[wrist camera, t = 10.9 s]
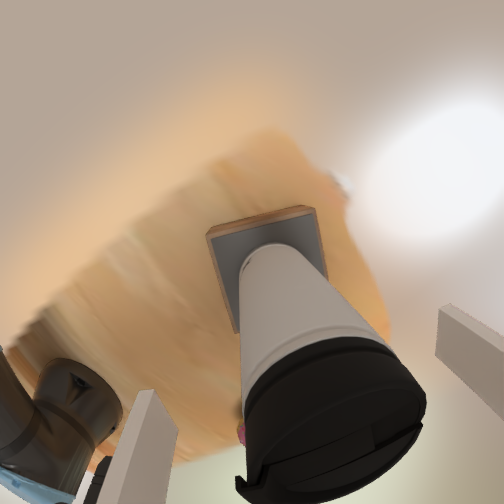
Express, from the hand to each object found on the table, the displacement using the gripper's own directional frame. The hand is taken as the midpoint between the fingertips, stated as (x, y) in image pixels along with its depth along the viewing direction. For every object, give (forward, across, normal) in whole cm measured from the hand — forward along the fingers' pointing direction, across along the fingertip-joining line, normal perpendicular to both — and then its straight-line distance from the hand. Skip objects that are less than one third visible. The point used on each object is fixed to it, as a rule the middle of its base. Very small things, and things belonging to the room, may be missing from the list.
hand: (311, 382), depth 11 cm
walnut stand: (+21, 0, 0) cm, 21 cm away
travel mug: (+15, 0, 0) cm, 15 cm away
